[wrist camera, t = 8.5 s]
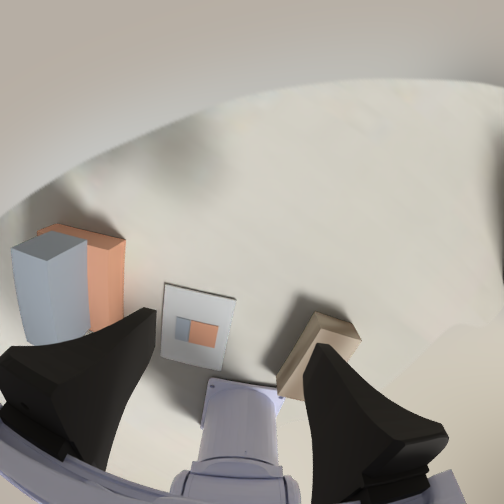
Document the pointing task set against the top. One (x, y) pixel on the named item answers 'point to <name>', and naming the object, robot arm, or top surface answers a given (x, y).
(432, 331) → the top surface
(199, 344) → the page
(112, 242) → the base brick
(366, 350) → the top surface
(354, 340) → the brick
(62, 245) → the top brick
